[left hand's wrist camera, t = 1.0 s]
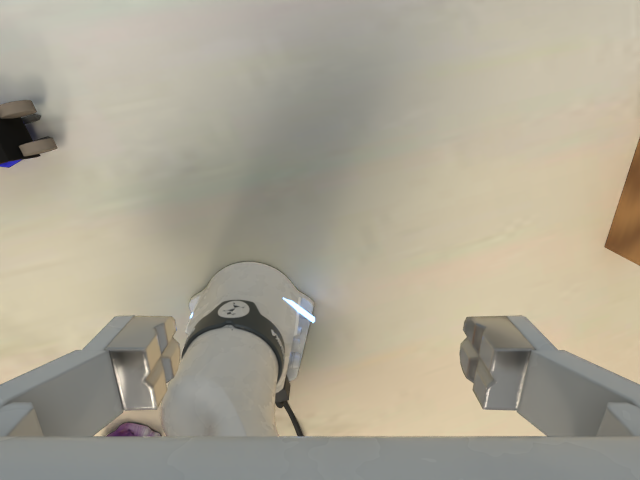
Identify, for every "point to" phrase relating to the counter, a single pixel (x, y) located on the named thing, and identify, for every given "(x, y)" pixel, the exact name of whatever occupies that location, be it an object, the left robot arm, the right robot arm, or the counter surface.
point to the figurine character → (20, 134)
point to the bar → (628, 216)
